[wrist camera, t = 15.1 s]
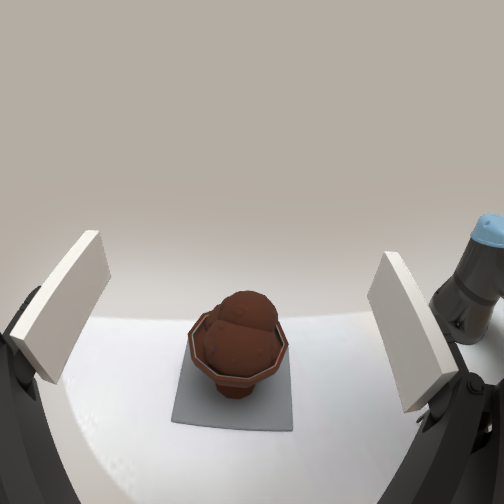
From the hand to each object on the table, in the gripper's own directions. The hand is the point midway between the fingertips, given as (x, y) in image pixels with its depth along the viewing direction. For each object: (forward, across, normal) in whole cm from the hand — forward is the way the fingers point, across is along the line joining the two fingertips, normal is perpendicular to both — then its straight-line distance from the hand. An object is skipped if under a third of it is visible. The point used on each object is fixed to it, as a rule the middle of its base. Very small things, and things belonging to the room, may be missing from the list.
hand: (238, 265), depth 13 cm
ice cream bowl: (+10, 0, -27) cm, 29 cm away
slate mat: (+10, 0, -28) cm, 29 cm away
